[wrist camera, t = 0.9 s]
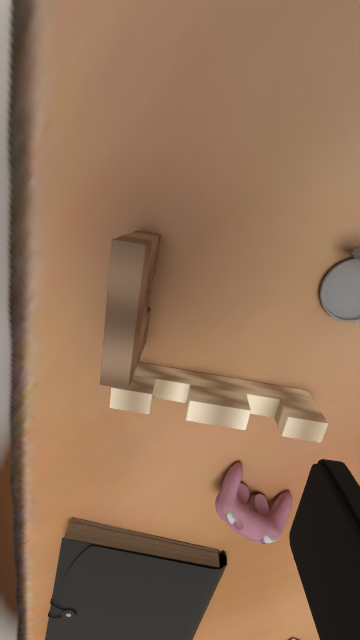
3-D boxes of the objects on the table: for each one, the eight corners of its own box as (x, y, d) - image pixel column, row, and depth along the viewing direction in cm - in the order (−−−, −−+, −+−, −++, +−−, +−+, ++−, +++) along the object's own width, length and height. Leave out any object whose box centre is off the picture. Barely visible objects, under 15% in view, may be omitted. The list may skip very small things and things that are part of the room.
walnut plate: (137, 231, 31) (112, 239, 22) (160, 234, 31) (145, 245, 22) (125, 338, 35) (99, 384, 26) (145, 341, 35) (127, 389, 26)
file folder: (59, 540, 42) (228, 574, 43) (70, 512, 46) (225, 544, 47) (38, 667, 53) (173, 691, 54) (49, 636, 57) (174, 659, 58)
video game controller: (218, 465, 43) (206, 520, 38) (238, 458, 40) (228, 517, 35) (272, 497, 44) (268, 554, 39) (296, 493, 41) (294, 554, 36)
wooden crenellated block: (122, 377, 37) (109, 407, 31) (124, 360, 36) (111, 387, 30) (301, 407, 37) (320, 442, 31) (307, 390, 36) (328, 423, 31)
